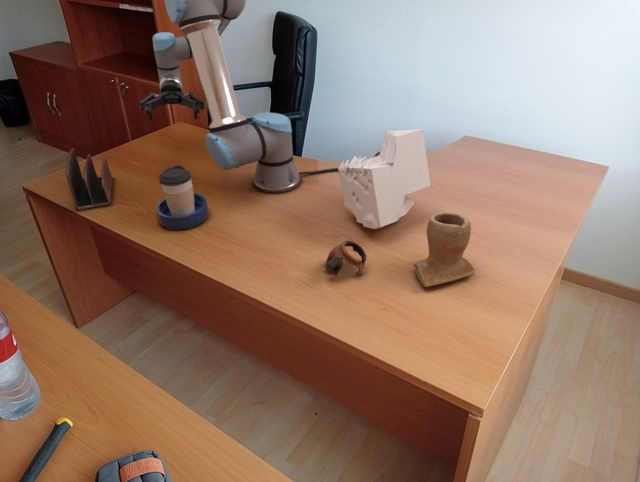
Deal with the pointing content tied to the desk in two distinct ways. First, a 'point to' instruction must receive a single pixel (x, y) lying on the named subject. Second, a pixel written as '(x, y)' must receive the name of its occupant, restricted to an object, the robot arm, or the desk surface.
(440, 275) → the stone cup
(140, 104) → the robot arm
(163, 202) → the bowl
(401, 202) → the jagged white plaster chunk
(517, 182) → the desk surface
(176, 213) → the coffee cup
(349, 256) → the brown curved piece
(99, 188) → the letter holder
